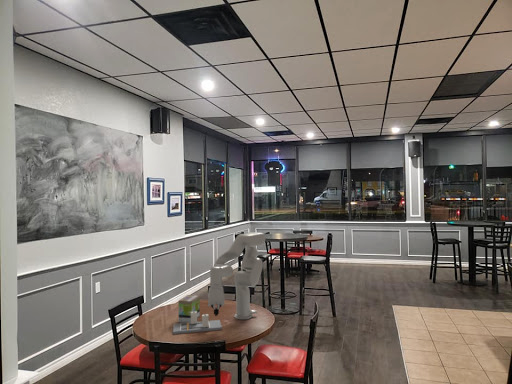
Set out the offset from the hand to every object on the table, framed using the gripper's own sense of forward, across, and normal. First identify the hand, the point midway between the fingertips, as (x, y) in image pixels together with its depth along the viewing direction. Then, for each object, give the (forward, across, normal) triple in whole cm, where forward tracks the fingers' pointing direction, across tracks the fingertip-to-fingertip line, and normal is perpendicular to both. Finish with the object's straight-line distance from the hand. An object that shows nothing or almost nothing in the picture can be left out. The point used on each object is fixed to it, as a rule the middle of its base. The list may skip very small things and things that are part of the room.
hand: (216, 315), depth 223 cm
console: (+9, +12, -5) cm, 15 cm away
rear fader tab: (+7, +14, -9) cm, 18 cm away
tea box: (+9, +17, -23) cm, 30 cm away
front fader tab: (+7, +7, -1) cm, 10 cm away
